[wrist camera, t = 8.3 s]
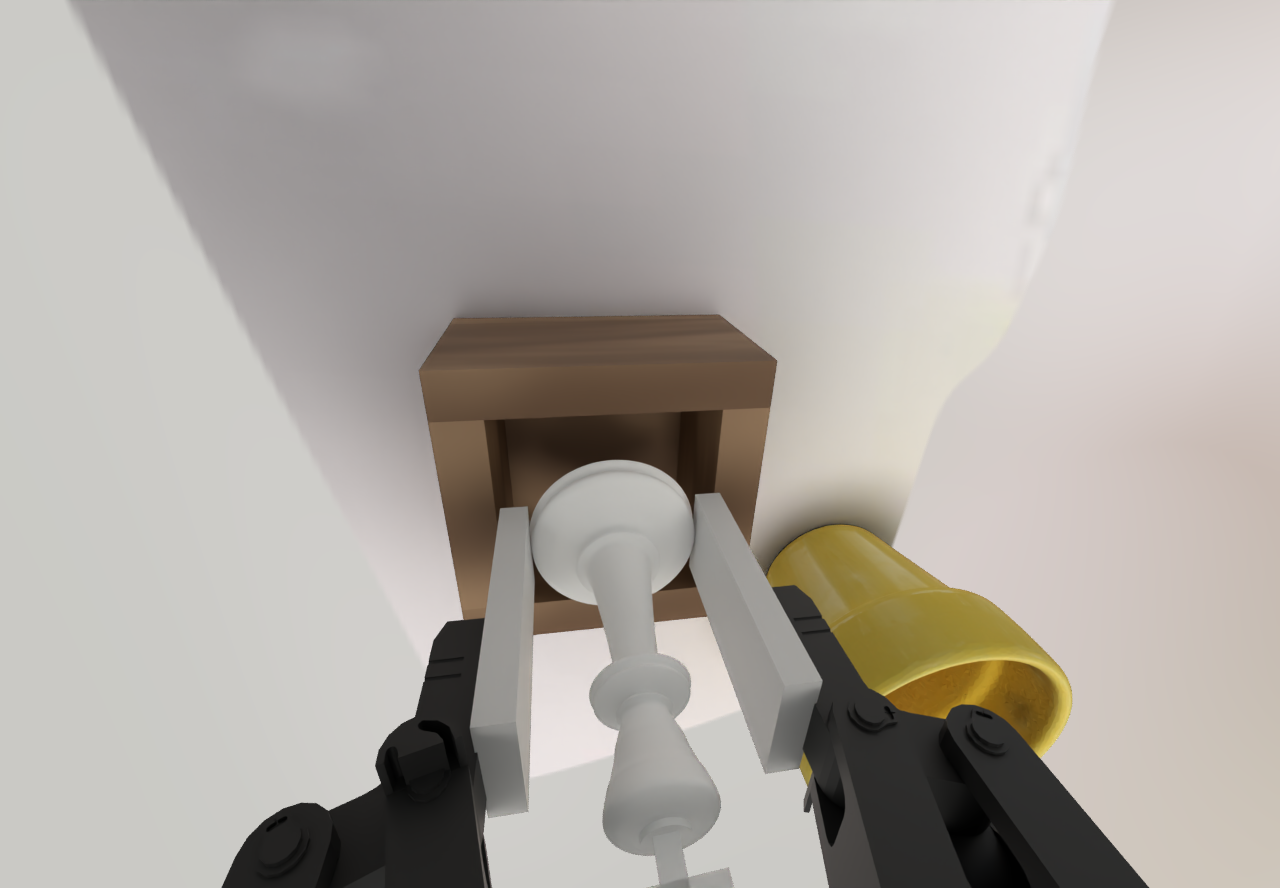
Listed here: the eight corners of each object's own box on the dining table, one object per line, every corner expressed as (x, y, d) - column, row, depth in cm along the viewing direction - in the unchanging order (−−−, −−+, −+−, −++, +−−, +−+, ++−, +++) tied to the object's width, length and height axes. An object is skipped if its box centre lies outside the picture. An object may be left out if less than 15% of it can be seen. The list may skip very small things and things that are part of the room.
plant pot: (717, 652, 29) (788, 850, 20) (742, 497, 24) (848, 670, 16) (883, 635, 31) (1013, 812, 22) (936, 488, 26) (1128, 639, 18)
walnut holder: (454, 317, 19) (418, 370, 14) (717, 313, 20) (777, 360, 15) (485, 537, 23) (467, 642, 18) (698, 521, 25) (739, 613, 20)
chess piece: (511, 476, 14) (450, 958, 5) (686, 444, 15) (887, 847, 6) (548, 604, 17) (545, 1087, 8) (696, 575, 17) (853, 1003, 8)
